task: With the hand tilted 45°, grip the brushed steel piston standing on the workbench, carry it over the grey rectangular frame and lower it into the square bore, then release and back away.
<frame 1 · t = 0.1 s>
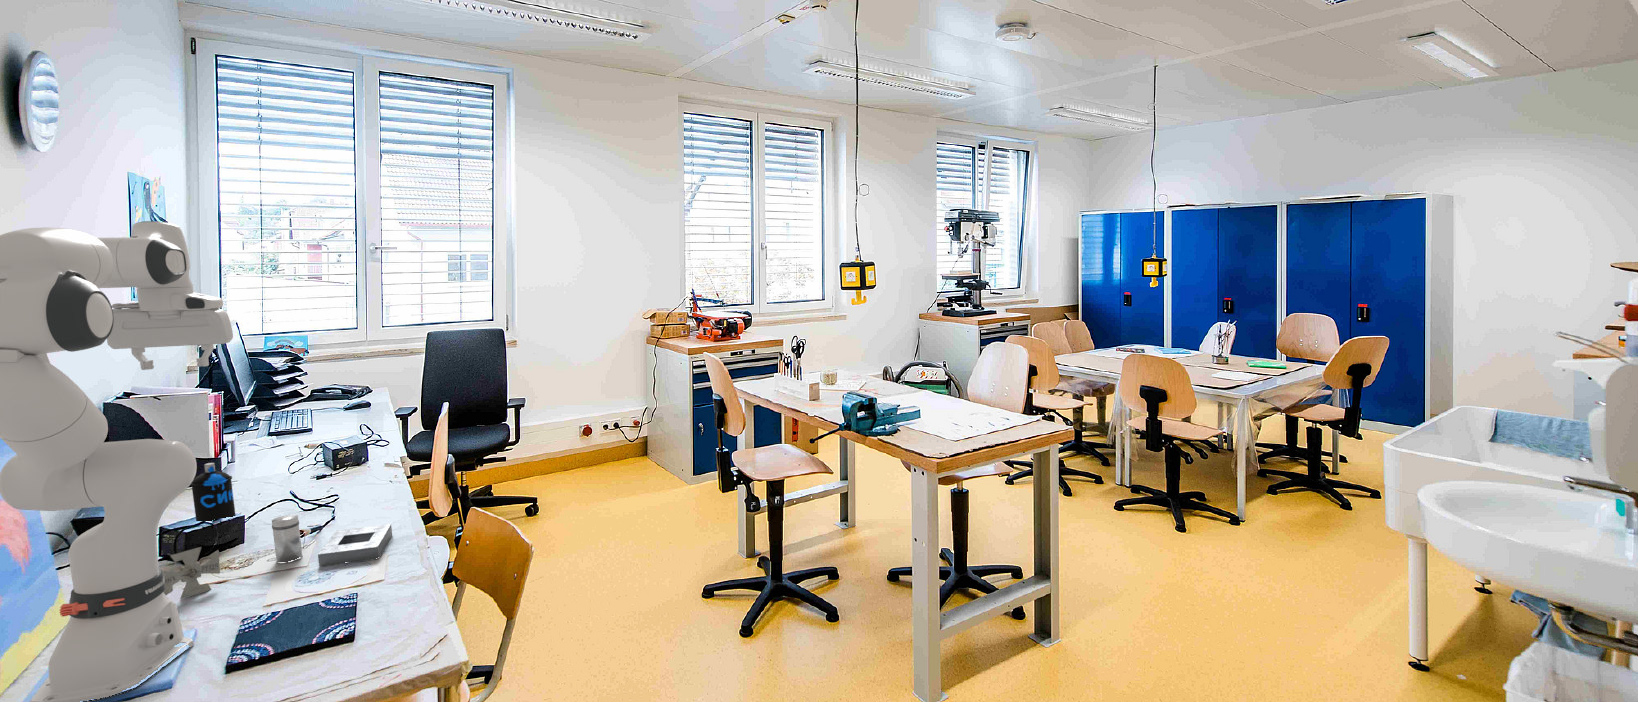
hand: (175, 367, 155), 48 cm above the table, tool pointing down, fingers open, 8 cm apart
cross: (194, 596, 157), on the table
piston: (289, 559, 175), on the table
aerosol can: (219, 541, 188), on the table
grey rectangular frame: (357, 550, 180), on the table
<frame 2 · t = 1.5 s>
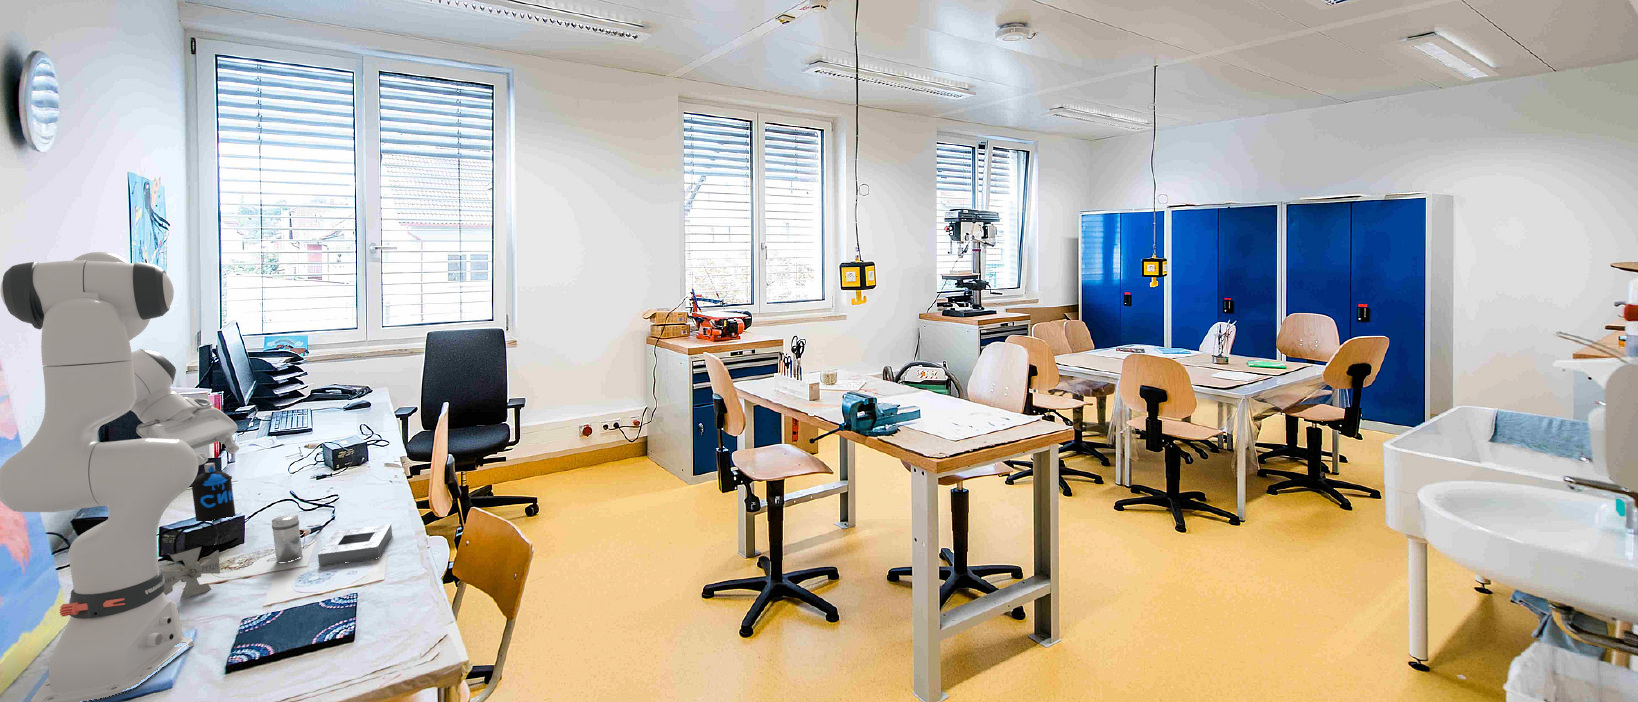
hand: (220, 456, 172), 25 cm above the table, tool tilted 45°, fingers open, 8 cm apart
nothing on the table moved.
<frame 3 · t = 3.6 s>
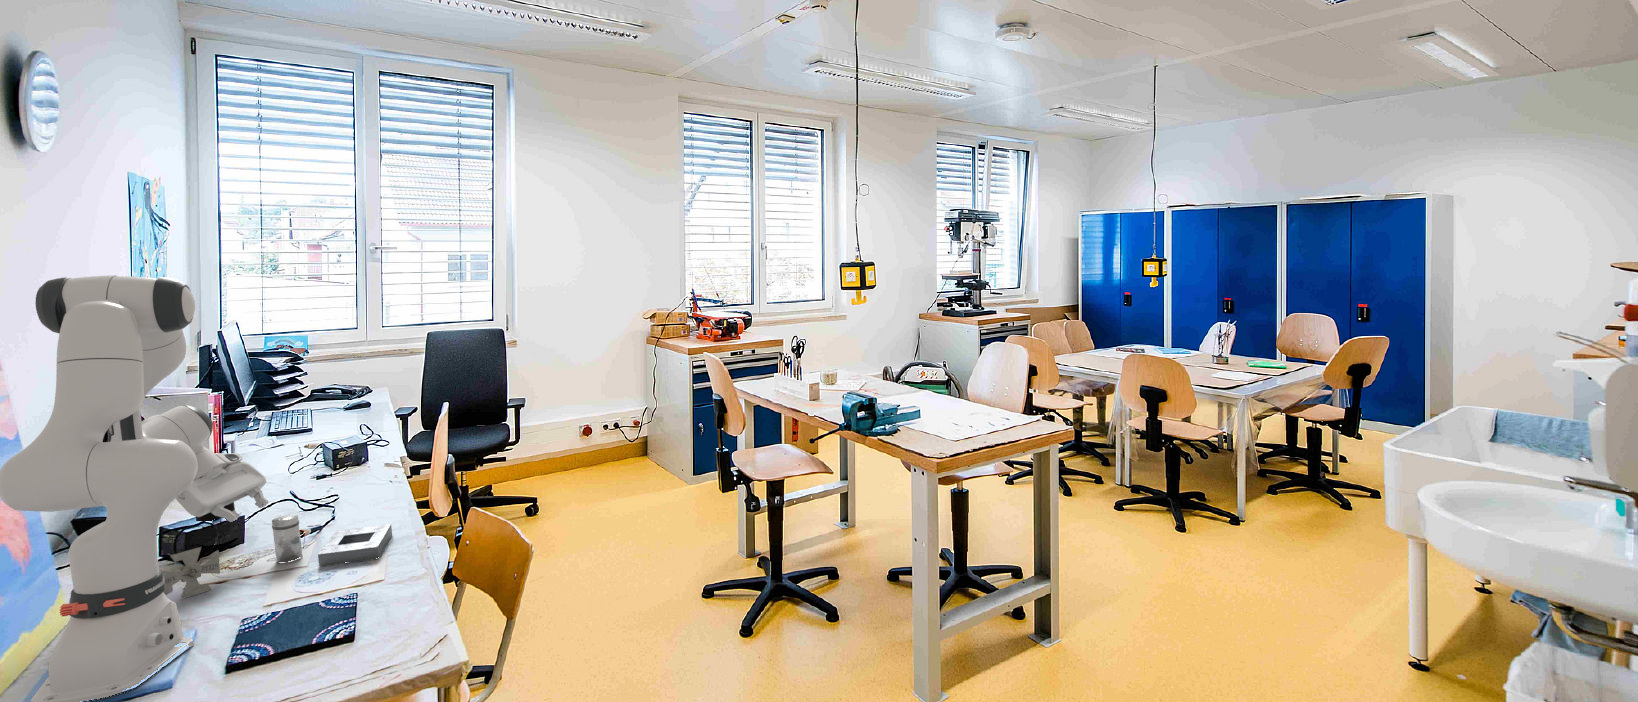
hand: (250, 512, 174), 12 cm above the table, tool tilted 45°, fingers open, 8 cm apart
nothing on the table moved.
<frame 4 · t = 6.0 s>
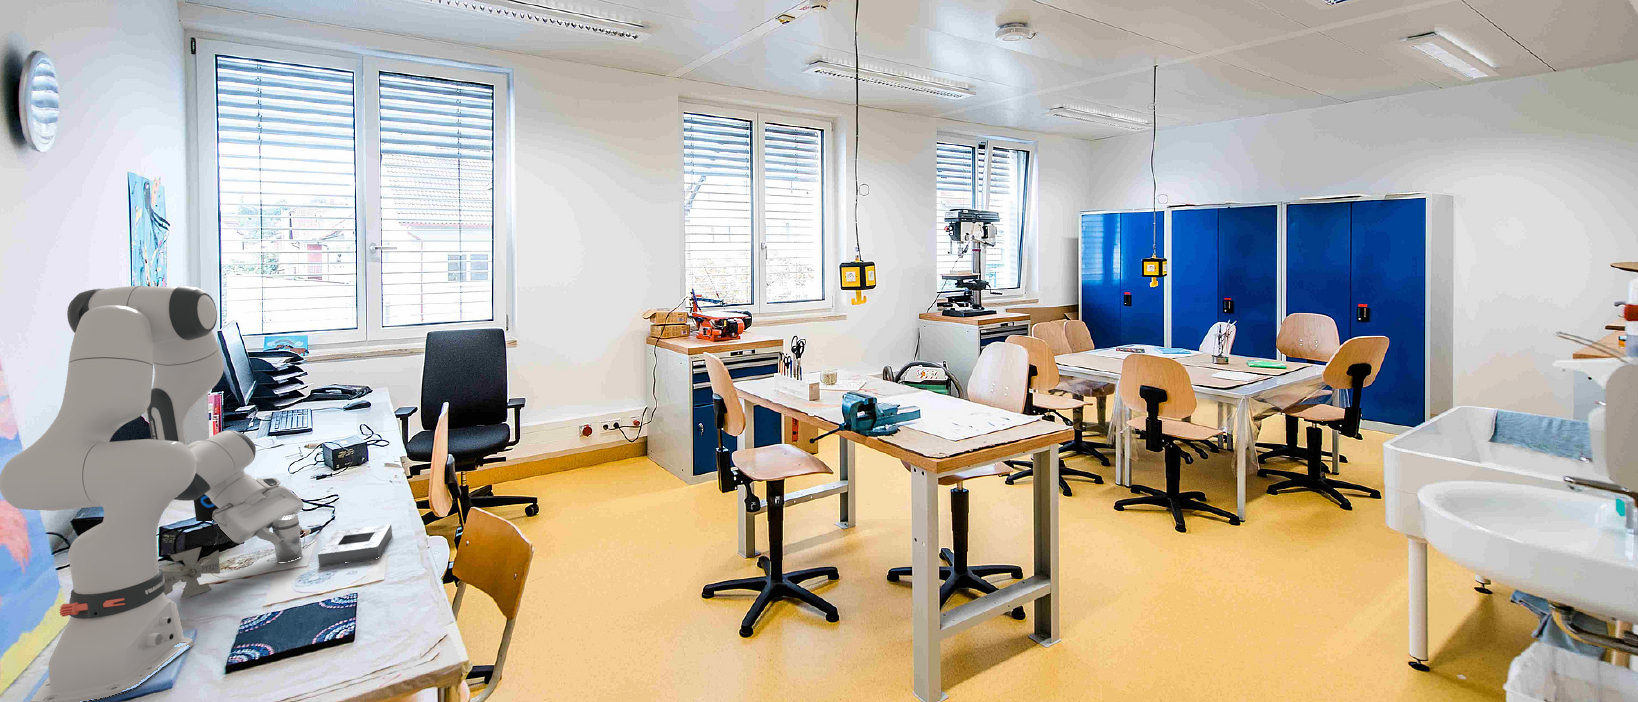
hand: (289, 537, 175), 5 cm above the table, tool tilted 45°, fingers closed on piston, 5 cm apart
piston: (289, 559, 175), on the table, touching gripper
everything else where it was.
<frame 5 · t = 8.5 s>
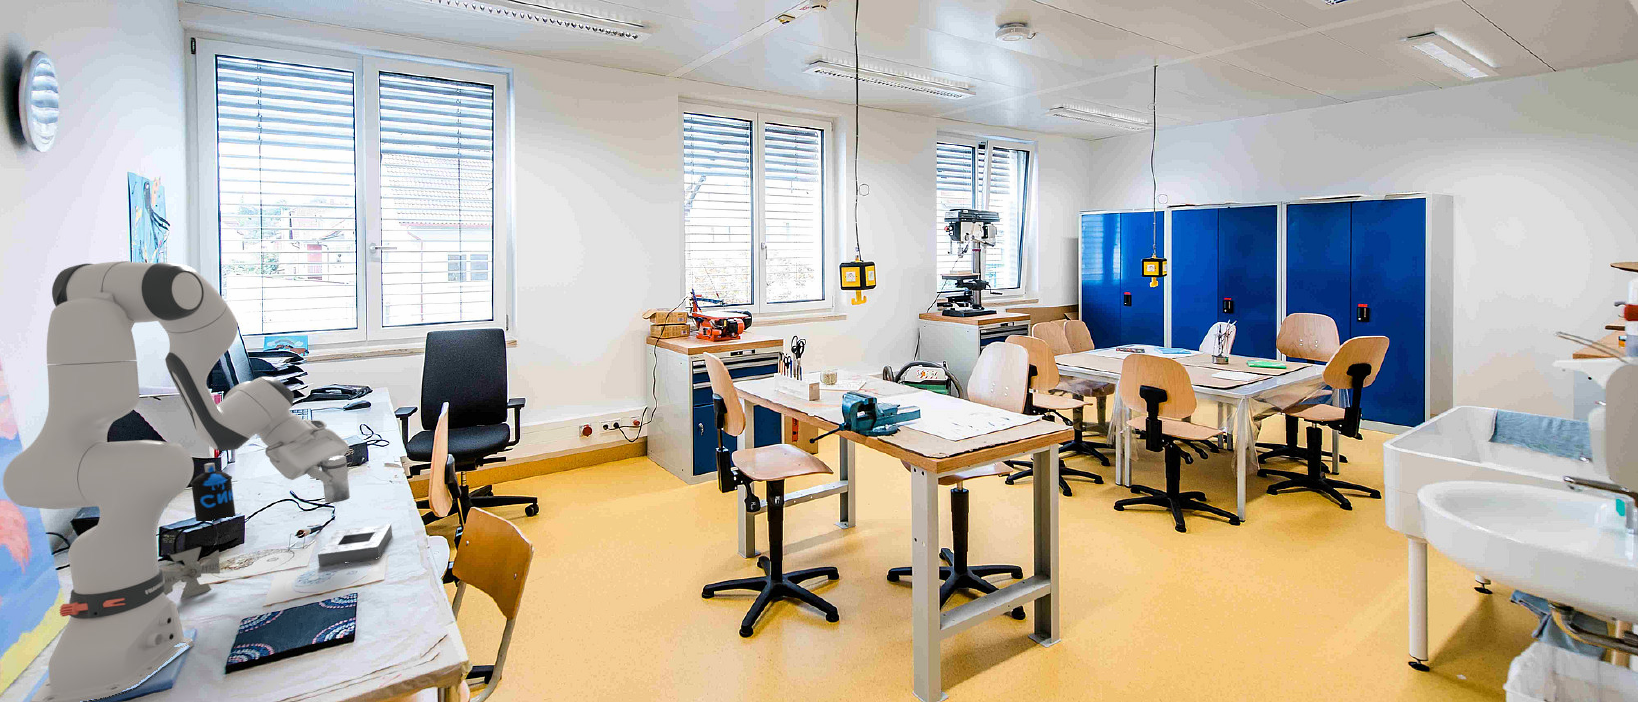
hand: (338, 477, 177), 19 cm above the table, tool tilted 45°, fingers closed on piston, 5 cm apart
piston: (337, 499, 178), point 13 cm above the table, touching gripper
everything else where it was.
when the fingers open (6 cm above the table, at t = 11.2 s): piston stays where it is, resting in grey rectangular frame.
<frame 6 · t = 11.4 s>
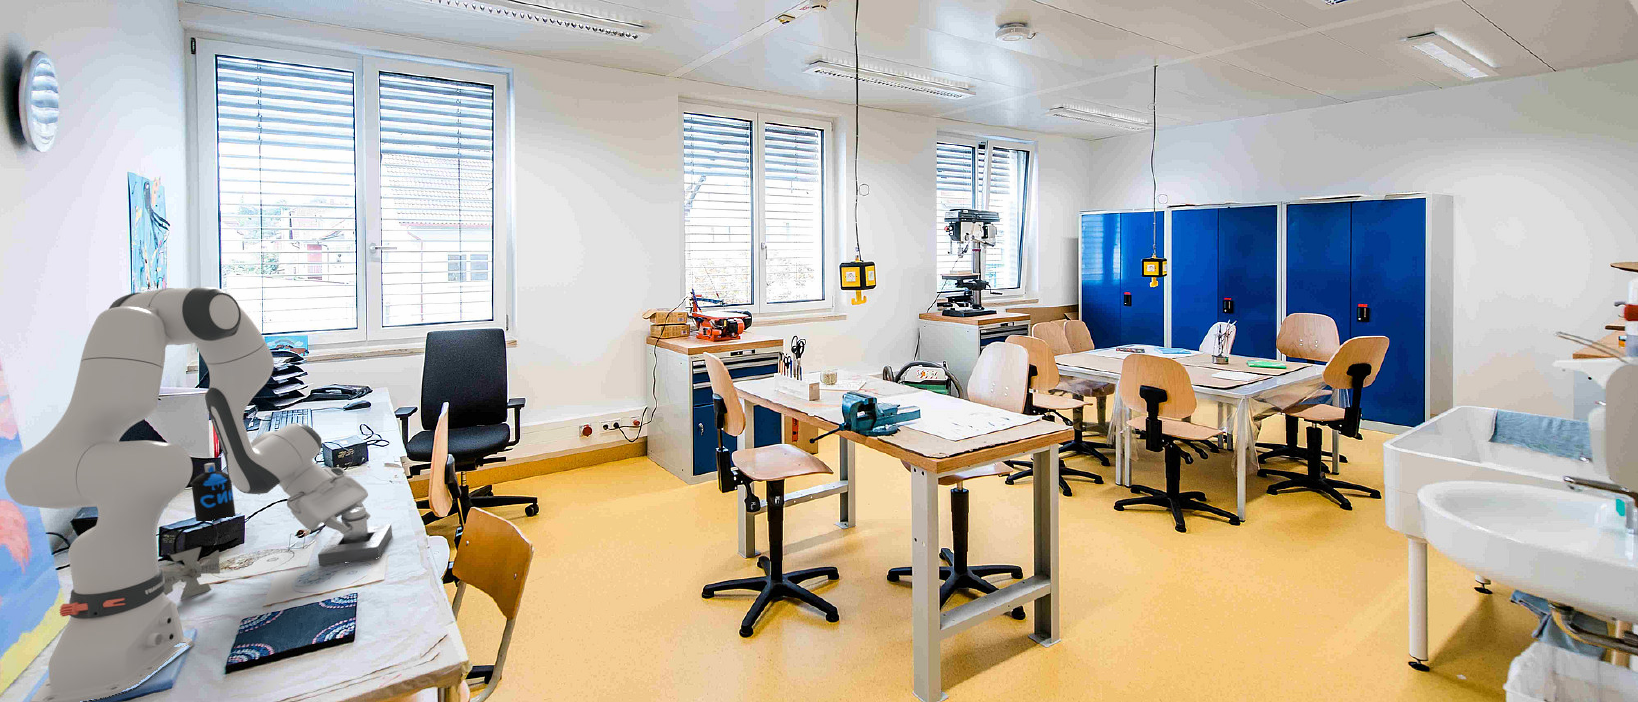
hand: (357, 525, 179), 6 cm above the table, tool tilted 45°, fingers open, 7 cm apart
piston: (357, 550, 180), resting in grey rectangular frame
everything else where it was.
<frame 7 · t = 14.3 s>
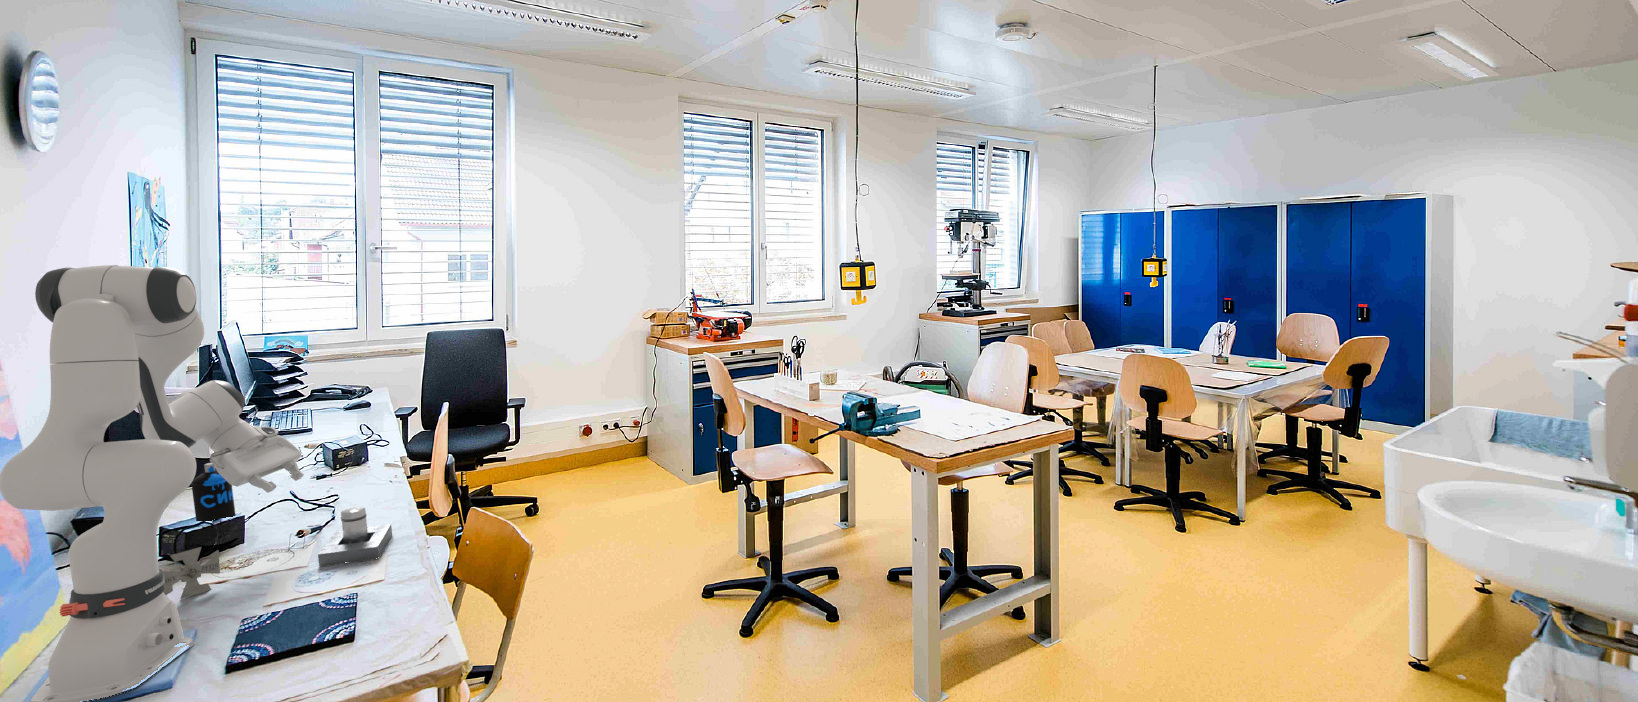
hand: (286, 483, 176), 18 cm above the table, tool tilted 45°, fingers open, 8 cm apart
nothing on the table moved.
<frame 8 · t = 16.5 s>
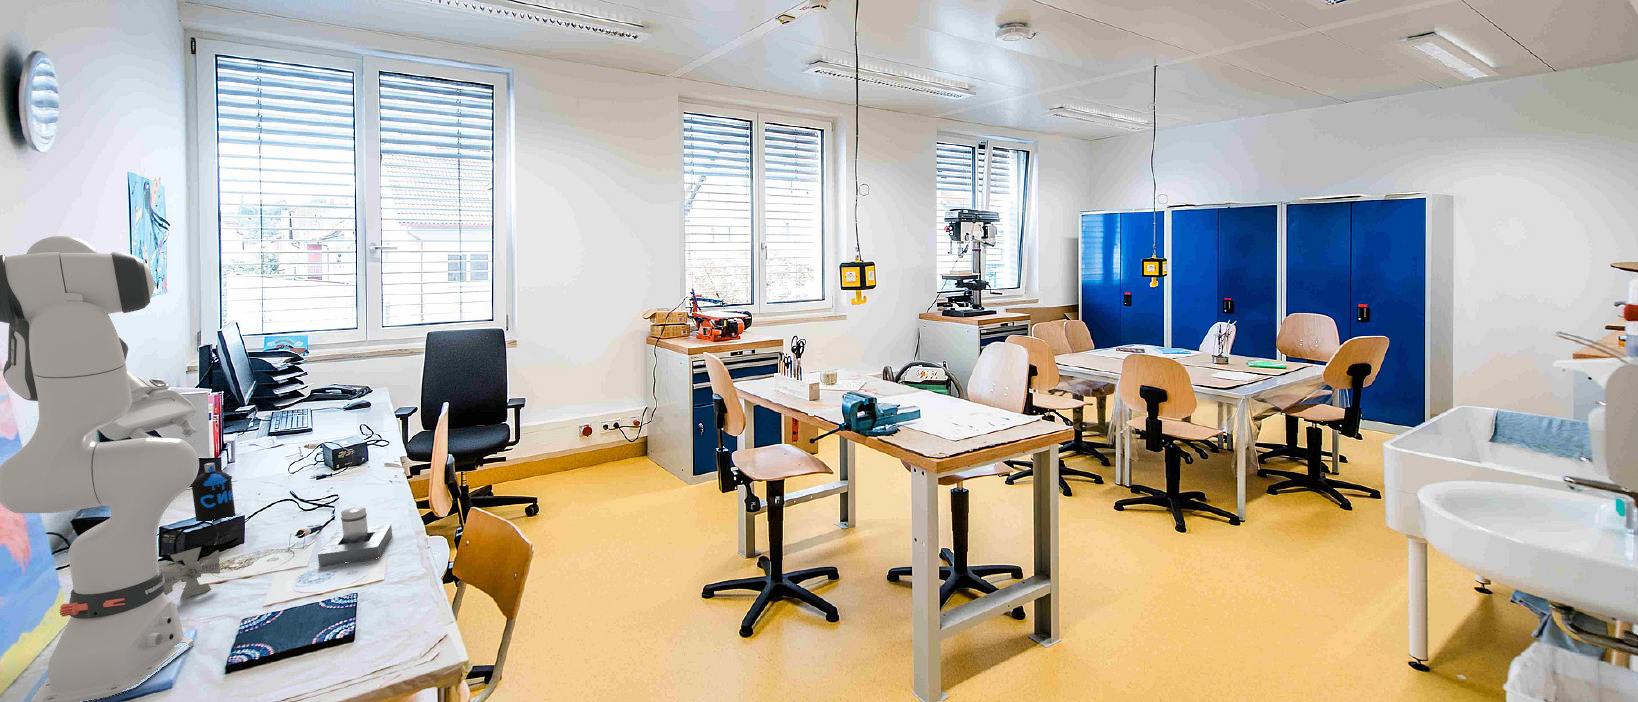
hand: (175, 439, 163), 31 cm above the table, tool tilted 45°, fingers open, 8 cm apart
nothing on the table moved.
at the end: piston 0.1 cm off-centre on the grey rectangular frame, point 0.0 cm above the grey rectangular frame's base; piston tilted 0°; the gripper is holding nothing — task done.
